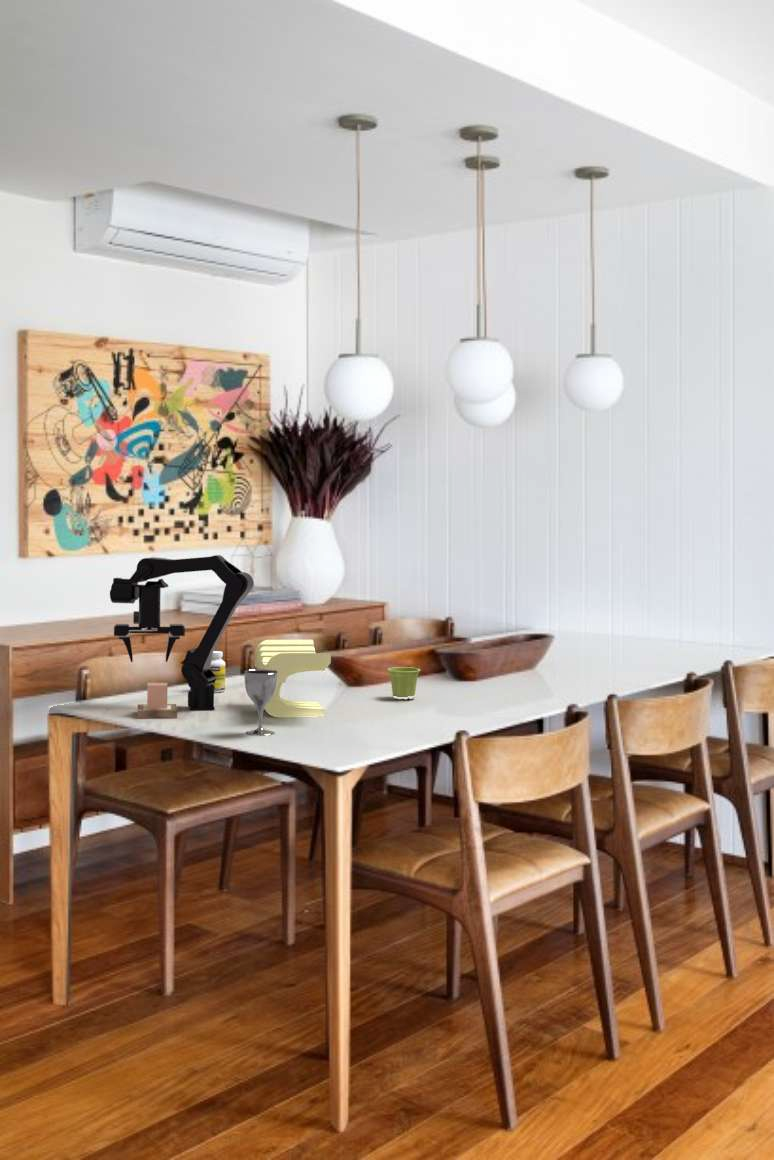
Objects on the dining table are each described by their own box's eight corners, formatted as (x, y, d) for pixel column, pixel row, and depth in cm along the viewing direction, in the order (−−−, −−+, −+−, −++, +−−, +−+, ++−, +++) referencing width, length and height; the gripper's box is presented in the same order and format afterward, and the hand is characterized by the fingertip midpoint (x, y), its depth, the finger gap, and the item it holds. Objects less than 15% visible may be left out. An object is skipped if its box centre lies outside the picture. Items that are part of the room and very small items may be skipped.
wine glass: (277, 730, 318) (278, 669, 317) (275, 736, 310) (276, 673, 309) (245, 729, 318) (245, 668, 317) (242, 735, 310) (243, 673, 309)
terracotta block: (166, 705, 339) (166, 682, 338) (167, 708, 334) (167, 685, 333) (147, 705, 338) (147, 682, 337) (147, 708, 333) (147, 685, 332)
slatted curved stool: (254, 704, 357) (255, 639, 356) (311, 703, 360) (312, 639, 359) (267, 723, 328) (268, 653, 327) (329, 722, 331) (330, 652, 330)
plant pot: (383, 700, 368) (384, 670, 367) (391, 695, 377) (392, 666, 376) (415, 702, 366) (416, 672, 365) (422, 697, 375) (423, 667, 374)
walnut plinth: (175, 711, 342) (176, 703, 342) (177, 718, 332) (177, 709, 332) (137, 711, 340) (137, 703, 340) (137, 718, 330) (137, 710, 330)
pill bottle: (204, 693, 374) (204, 653, 373) (201, 690, 380) (201, 650, 379) (226, 693, 376) (227, 653, 375) (223, 689, 382) (223, 650, 381)
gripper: (183, 601, 358) (183, 658, 359) (114, 601, 354) (114, 658, 355) (185, 605, 347) (184, 663, 348) (114, 605, 343) (113, 663, 344)
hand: (149, 661), depth 349 cm, fingers open, 9 cm apart
